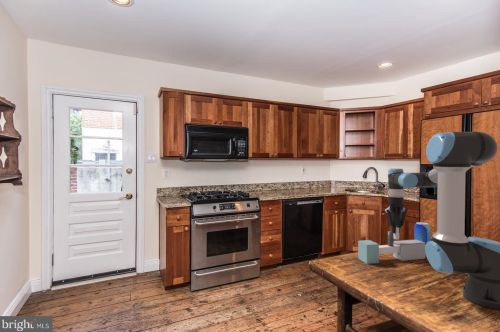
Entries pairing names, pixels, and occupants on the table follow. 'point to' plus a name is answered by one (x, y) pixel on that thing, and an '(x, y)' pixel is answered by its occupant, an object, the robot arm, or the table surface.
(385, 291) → the table surface
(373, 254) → the socket block
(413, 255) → the white rectangular box
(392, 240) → the sliding bolt with handle
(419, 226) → the beer can
